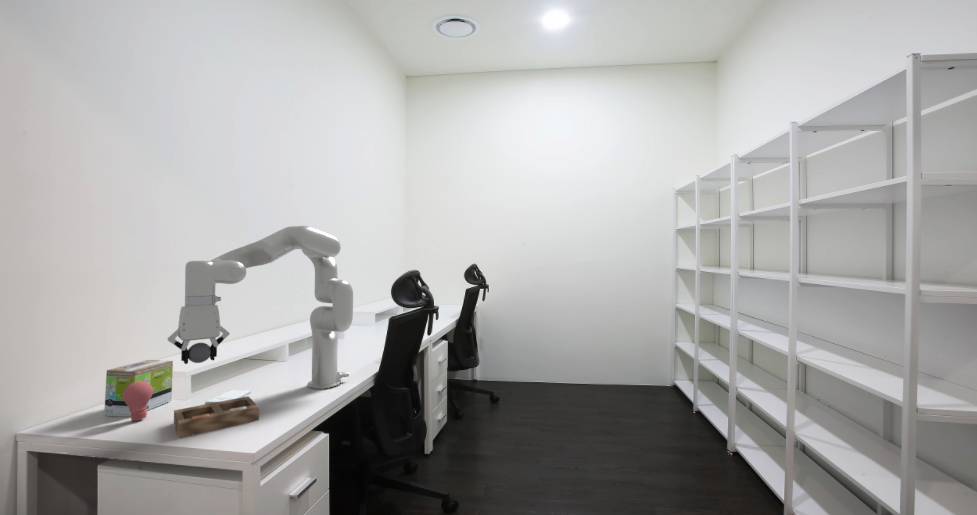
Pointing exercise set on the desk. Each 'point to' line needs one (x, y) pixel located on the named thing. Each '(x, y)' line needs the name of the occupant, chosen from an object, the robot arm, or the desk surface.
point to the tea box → (147, 371)
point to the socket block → (215, 416)
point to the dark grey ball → (199, 352)
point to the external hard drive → (229, 396)
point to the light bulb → (138, 399)
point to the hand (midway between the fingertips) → (199, 360)
